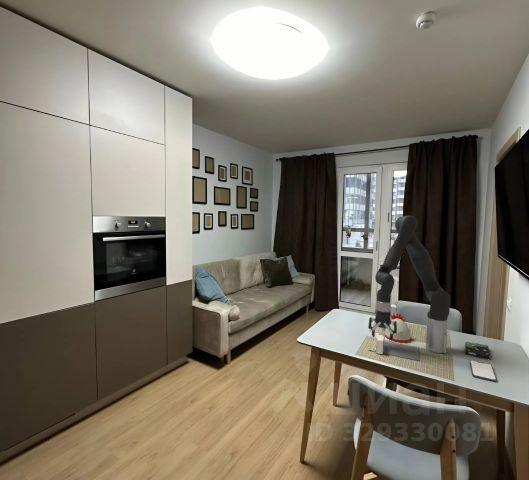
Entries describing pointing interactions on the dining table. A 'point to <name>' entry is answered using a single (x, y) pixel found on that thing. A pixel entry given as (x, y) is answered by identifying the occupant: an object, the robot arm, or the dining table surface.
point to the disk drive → (477, 350)
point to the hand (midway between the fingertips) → (382, 338)
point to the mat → (401, 351)
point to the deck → (380, 343)
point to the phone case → (482, 371)
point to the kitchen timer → (399, 330)
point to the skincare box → (393, 310)
